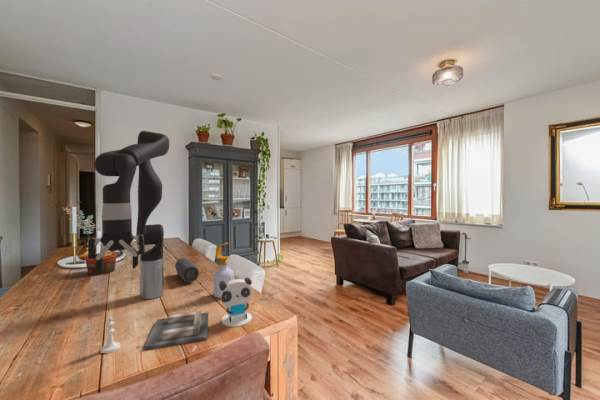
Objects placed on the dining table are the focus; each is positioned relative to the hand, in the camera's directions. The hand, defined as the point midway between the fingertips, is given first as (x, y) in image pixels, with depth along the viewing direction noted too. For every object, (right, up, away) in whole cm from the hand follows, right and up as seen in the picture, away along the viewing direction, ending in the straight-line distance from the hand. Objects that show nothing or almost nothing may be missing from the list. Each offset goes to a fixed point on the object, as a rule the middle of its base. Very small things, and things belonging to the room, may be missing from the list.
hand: (118, 269), depth 80 cm
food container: (-64, -22, +76) cm, 101 cm away
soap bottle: (+21, -23, +41) cm, 52 cm away
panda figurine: (+32, -24, +18) cm, 44 cm away
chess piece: (-1, -24, -1) cm, 24 cm away
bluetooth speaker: (-7, -23, +64) cm, 68 cm away
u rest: (+15, -24, +9) cm, 30 cm away
